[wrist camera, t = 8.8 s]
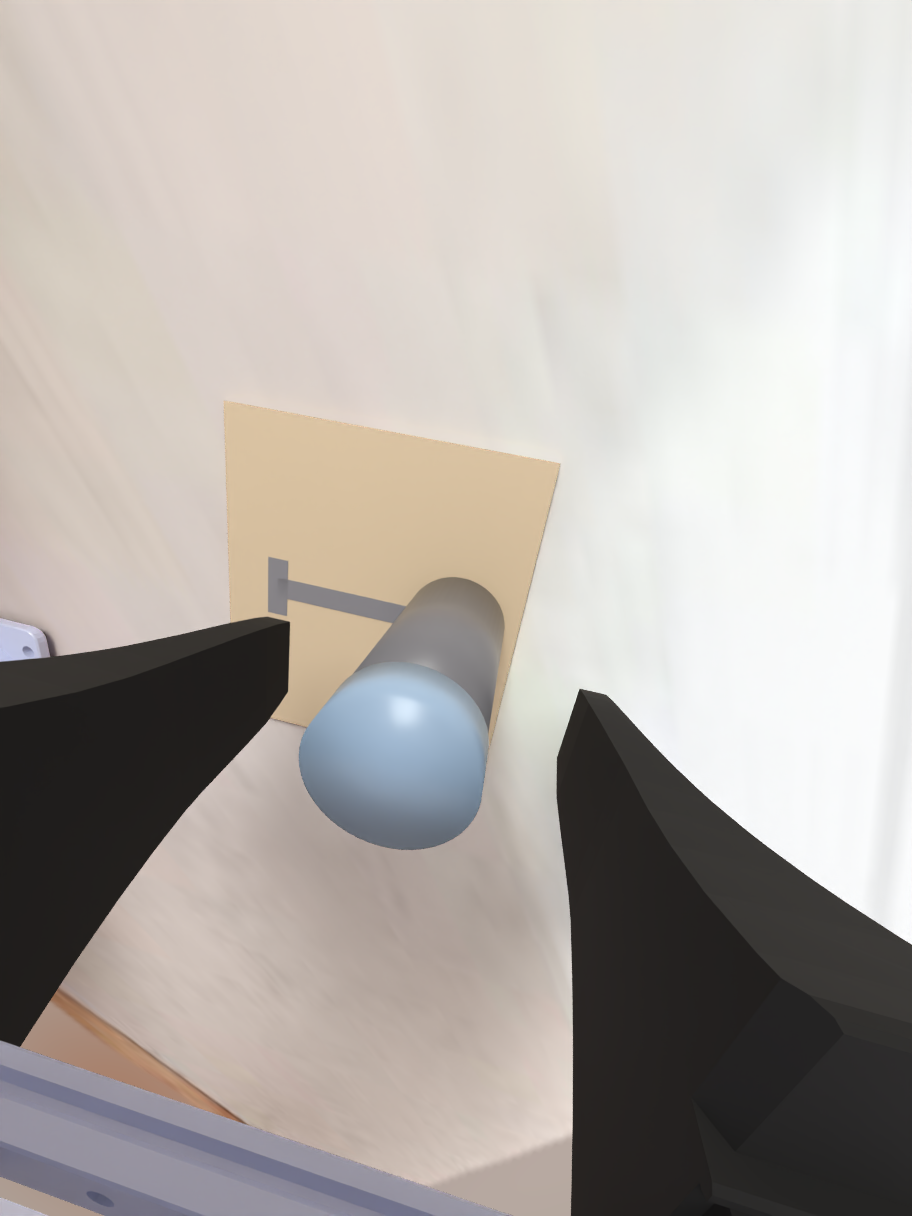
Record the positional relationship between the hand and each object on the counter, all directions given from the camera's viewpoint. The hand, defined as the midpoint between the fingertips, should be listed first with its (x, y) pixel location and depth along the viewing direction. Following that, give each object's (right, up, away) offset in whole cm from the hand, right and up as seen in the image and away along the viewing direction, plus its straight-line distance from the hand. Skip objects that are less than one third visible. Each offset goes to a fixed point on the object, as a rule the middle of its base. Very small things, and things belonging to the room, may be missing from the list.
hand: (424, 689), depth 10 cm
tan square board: (-2, +2, +4) cm, 5 cm away
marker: (+1, +1, +4) cm, 4 cm away
